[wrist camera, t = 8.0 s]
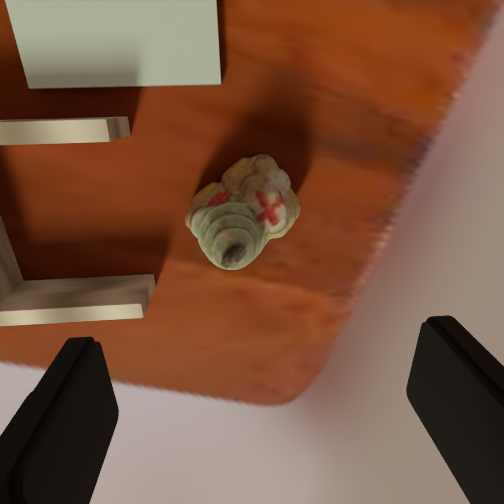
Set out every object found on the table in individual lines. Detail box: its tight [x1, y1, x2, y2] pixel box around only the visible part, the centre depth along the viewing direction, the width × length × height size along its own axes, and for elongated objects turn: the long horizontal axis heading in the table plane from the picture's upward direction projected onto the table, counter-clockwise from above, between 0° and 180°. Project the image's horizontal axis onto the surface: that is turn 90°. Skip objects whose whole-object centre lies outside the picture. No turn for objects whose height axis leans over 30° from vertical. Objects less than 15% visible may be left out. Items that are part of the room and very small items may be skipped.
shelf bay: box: [0, 116, 156, 326], centre depth 23 cm, size 12×13×4 cm
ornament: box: [185, 154, 301, 270], centre depth 21 cm, size 8×6×10 cm
